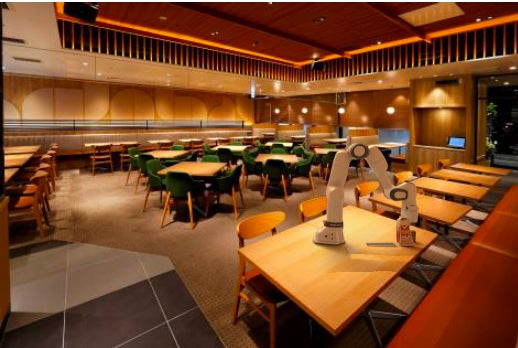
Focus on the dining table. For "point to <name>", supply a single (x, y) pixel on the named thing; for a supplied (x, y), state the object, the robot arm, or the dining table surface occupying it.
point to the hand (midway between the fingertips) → (408, 225)
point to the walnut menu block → (413, 235)
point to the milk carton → (403, 232)
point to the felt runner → (382, 244)
